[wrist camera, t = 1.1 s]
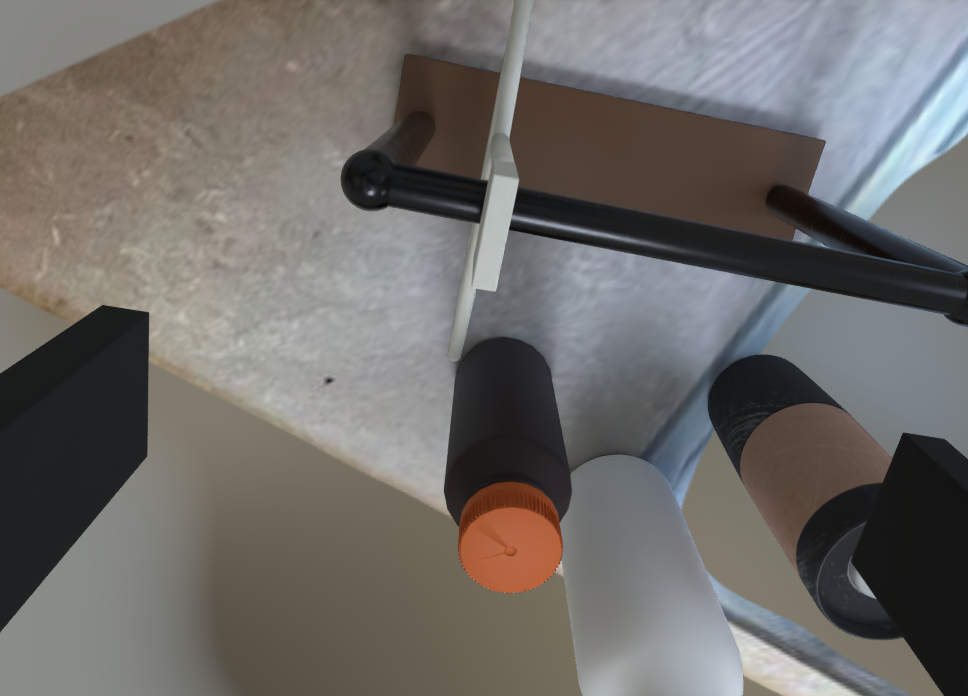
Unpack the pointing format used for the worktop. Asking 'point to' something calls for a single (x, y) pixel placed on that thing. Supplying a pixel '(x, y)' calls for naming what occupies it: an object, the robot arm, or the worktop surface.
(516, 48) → the hanger
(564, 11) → the worktop surface
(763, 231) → the rail
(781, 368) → the travel mug
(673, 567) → the alcohol
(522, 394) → the bottle
